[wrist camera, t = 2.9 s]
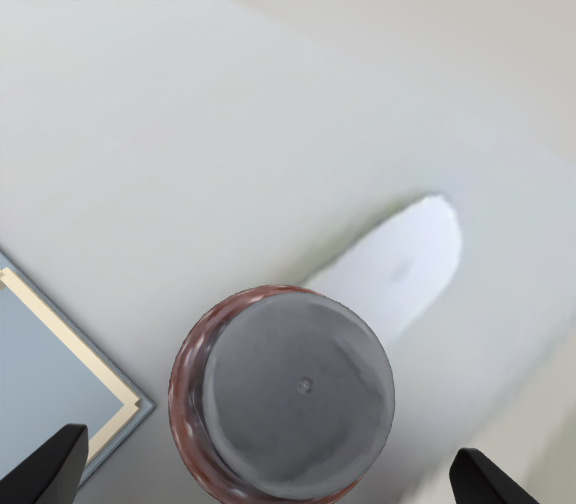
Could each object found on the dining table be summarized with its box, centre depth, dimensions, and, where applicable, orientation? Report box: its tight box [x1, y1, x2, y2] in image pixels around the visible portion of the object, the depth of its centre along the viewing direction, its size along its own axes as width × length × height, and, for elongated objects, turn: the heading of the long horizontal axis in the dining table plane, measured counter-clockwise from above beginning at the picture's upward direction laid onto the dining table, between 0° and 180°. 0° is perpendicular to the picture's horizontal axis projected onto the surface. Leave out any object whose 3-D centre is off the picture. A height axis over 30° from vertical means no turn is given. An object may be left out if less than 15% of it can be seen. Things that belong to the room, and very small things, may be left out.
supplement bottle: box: [168, 285, 395, 504], centre depth 13 cm, size 6×6×11 cm
